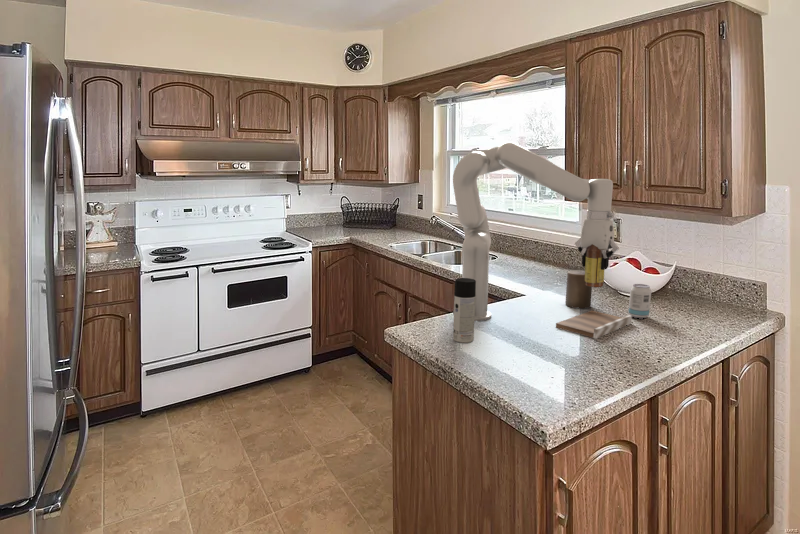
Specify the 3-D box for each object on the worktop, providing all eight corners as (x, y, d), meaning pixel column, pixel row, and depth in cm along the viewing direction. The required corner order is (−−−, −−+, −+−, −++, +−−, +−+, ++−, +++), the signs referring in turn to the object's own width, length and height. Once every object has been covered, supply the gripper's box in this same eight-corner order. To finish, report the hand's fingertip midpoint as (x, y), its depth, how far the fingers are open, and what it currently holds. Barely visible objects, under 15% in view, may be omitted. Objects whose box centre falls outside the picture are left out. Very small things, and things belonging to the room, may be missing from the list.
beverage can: (647, 315, 188) (650, 284, 185) (649, 320, 181) (653, 288, 179) (627, 313, 190) (630, 282, 187) (629, 318, 183) (632, 287, 181)
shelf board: (596, 338, 162) (596, 329, 162) (555, 327, 174) (556, 319, 173) (630, 323, 178) (631, 315, 177) (591, 314, 189) (592, 306, 188)
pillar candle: (594, 308, 196) (597, 271, 193) (569, 308, 196) (571, 271, 193) (585, 302, 205) (588, 266, 203) (561, 302, 206) (564, 266, 203)
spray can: (459, 335, 166) (460, 276, 162) (477, 339, 162) (479, 279, 158) (449, 340, 160) (450, 280, 156) (468, 345, 157) (470, 283, 153)
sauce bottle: (601, 284, 176) (606, 228, 172) (605, 288, 170) (610, 230, 166) (582, 283, 178) (586, 227, 173) (584, 287, 172) (589, 230, 167)
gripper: (628, 216, 165) (624, 270, 169) (581, 213, 178) (577, 262, 181) (617, 218, 160) (613, 273, 164) (569, 214, 173) (566, 265, 177)
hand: (594, 267), depth 173 cm, fingers closed on sauce bottle, 6 cm apart
